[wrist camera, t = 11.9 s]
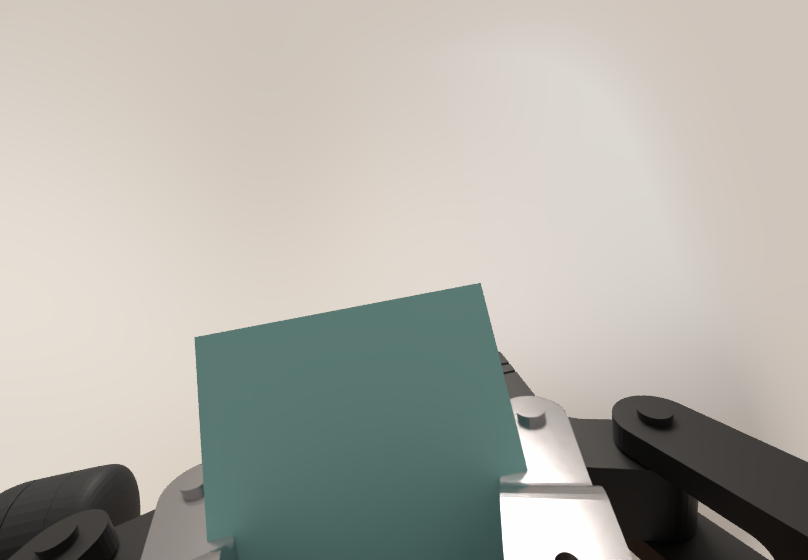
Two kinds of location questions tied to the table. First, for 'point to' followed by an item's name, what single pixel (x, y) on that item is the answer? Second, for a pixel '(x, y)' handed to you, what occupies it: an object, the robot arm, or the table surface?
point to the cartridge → (359, 433)
